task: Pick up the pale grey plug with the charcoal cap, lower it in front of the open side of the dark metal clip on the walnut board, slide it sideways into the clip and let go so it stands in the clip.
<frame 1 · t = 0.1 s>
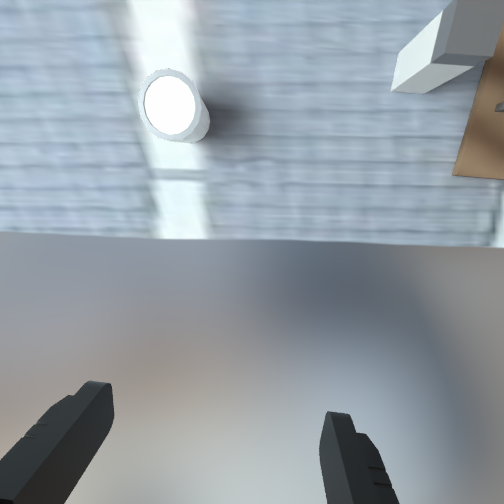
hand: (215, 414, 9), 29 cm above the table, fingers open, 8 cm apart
white cup: (189, 120, 34), on the table
plug: (411, 73, 31), on the table
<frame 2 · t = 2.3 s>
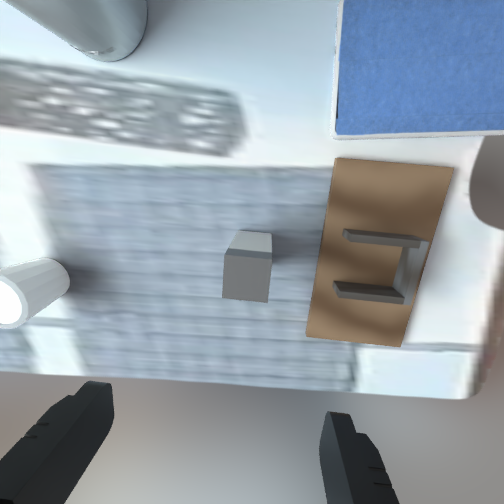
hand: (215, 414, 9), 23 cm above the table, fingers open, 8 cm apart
white cup: (50, 277, 35), on the table
holder: (368, 259, 31), on the table
plug: (253, 247, 31), on the table
tablet computer: (429, 71, 26), on the table
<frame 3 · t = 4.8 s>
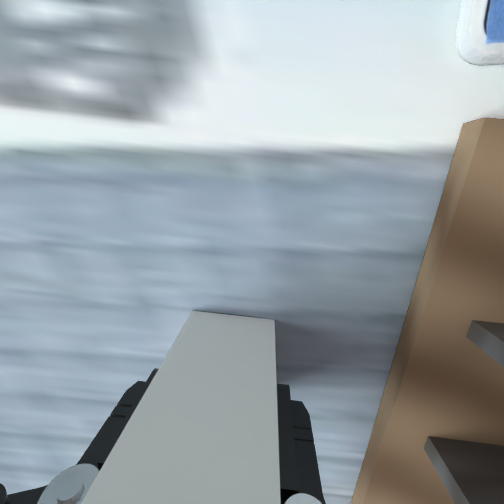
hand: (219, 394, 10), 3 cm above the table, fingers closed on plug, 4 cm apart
plug: (230, 350, 13), on the table, touching gripper
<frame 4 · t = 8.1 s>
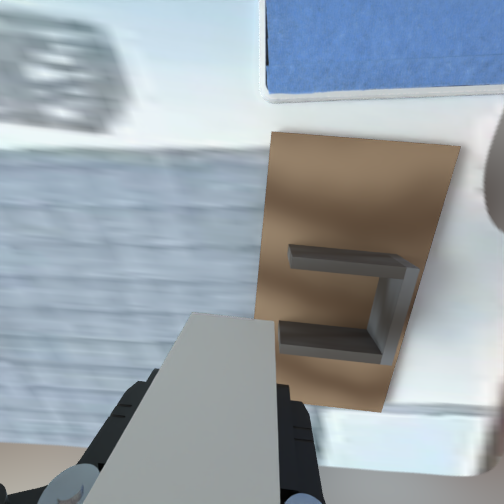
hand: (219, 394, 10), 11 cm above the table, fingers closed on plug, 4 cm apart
holder: (331, 288, 21), on the table
plug: (230, 351, 13), point 8 cm above the table, touching gripper
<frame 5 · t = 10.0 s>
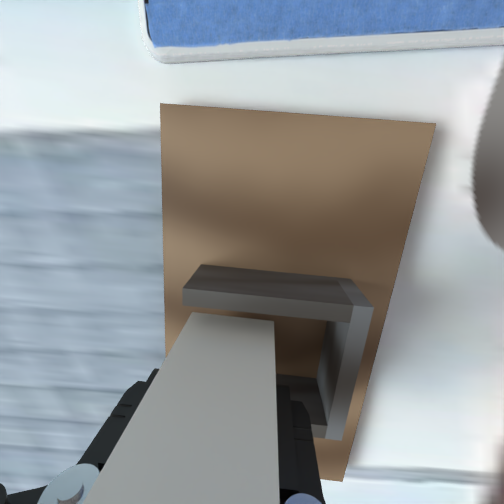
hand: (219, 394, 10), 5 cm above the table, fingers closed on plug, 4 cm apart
holder: (270, 321, 15), on the table
plug: (230, 351, 13), point 3 cm above the table, touching gripper
when the fingers open (5 cm above the table, at t = 11.6 s): plug drops 1 cm, resting on holder.
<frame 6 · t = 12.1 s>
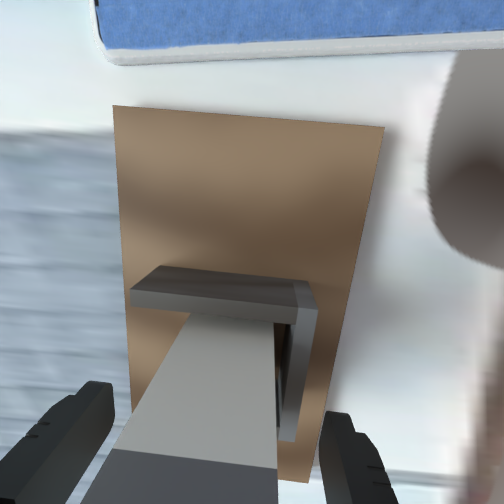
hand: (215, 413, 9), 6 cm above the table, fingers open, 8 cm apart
holder: (232, 323, 15), on the table
plug: (233, 333, 14), point 1 cm above the table, touching holder
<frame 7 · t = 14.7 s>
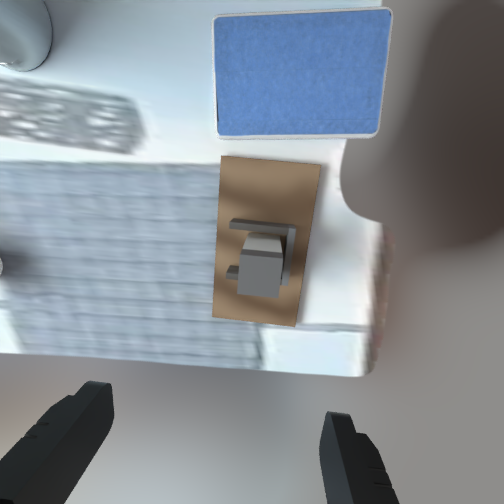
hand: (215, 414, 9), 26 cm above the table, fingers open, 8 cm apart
holder: (261, 246, 35), on the table
plug: (262, 248, 34), point 1 cm above the table, touching holder
tablet computer: (296, 81, 30), on the table
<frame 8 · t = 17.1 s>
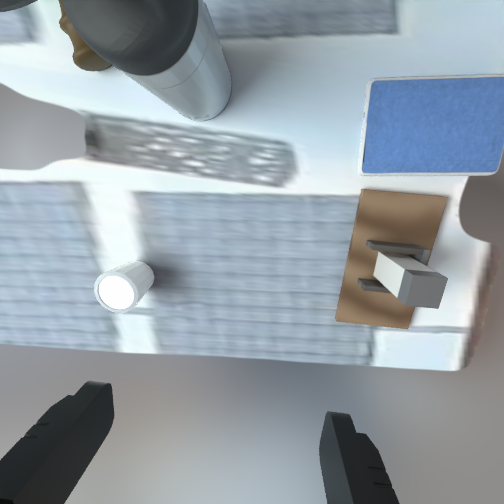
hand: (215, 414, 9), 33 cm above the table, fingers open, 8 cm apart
white cup: (139, 275, 45), on the table
holder: (384, 262, 41), on the table
plug: (388, 264, 40), point 1 cm above the table, touching holder
tablet computer: (429, 129, 36), on the table
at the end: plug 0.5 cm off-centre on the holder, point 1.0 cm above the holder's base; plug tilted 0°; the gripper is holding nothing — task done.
